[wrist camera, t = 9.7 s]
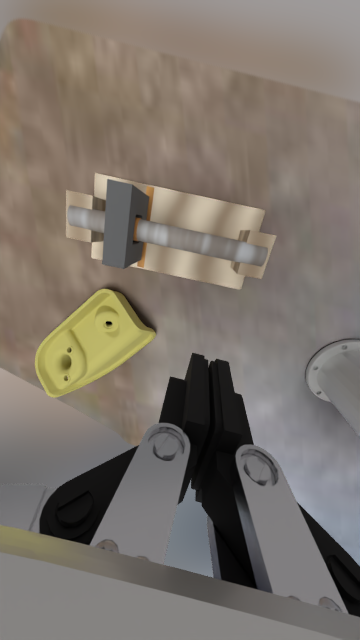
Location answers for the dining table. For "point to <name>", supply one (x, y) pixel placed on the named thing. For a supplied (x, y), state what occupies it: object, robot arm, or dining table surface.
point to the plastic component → (90, 343)
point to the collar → (122, 223)
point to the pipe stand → (180, 233)
